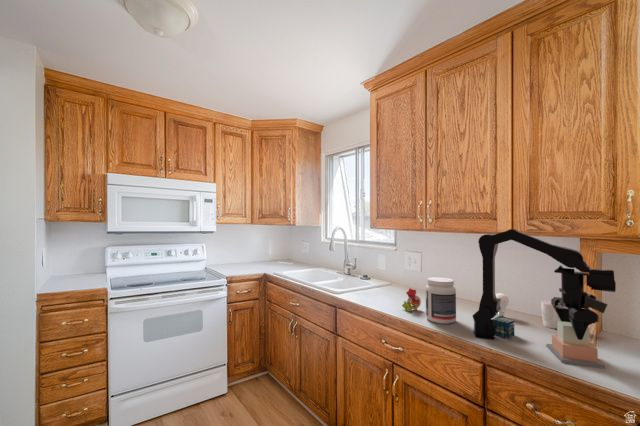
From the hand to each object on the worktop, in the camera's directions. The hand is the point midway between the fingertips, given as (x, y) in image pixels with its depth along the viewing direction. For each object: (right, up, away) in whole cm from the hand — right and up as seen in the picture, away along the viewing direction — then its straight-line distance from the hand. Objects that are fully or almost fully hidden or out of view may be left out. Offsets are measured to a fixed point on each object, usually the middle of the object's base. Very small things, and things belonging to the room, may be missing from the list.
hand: (573, 334), depth 99 cm
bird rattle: (-38, -9, +51) cm, 64 cm away
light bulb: (+1, -9, +41) cm, 42 cm away
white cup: (+15, -8, +28) cm, 33 cm away
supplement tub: (-30, -8, +36) cm, 47 cm away
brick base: (0, -7, 0) cm, 7 cm away
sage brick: (0, -2, 0) cm, 2 cm away
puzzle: (-12, -8, +19) cm, 23 cm away
